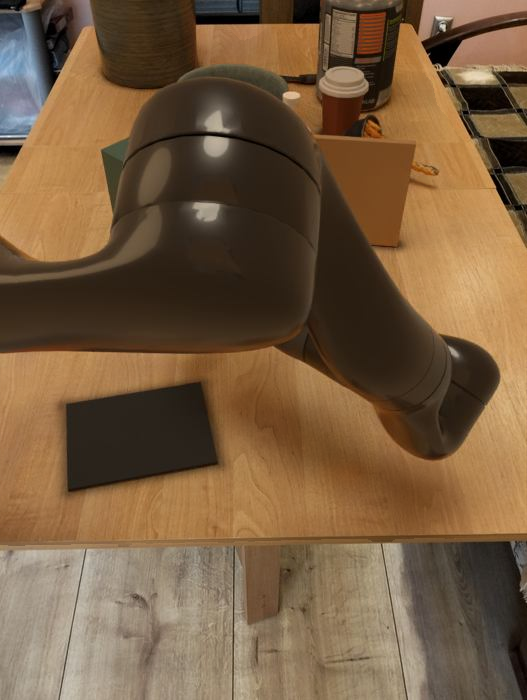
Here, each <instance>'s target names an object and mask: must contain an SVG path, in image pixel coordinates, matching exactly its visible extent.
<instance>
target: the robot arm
mask: <svg viewBox="0 0 527 700" xmlns="http://www.w3.org/2000/svg"><path fill="white" fill-rule="evenodd" d="M135 117H136V118H135V119H134V121H133V124H132V127H131V129H130V130H131V131H130V133H129V136H128V137H129V140H128V144H127V148H126V153H125V158H124V162H123V167H122V172H121V176H120V181H119V186H118V192H117V197H116V202H115V208H114V213H113V212H112V219H111V223H110V224H111V225H110V230H109V238H108V241H107V243H106V244H105V245H104V246H103V247H102V248H101V249H99V250H97V252H94V253H93V254H90V255H87V256H83V257H79V258H75V259H68V260H54V261H49V260H40V259H37V258H35V257H34V256H31V255H29V254H27V253H26V252H25V251H23V250H21V249H20V248H19V247H17V246H16V245H15V244H13V243H12V242H11V241H9V240H8V239H7V238H5V237H4V236H2V235H1V234H0V355H5V354H18V353H19V354H21V353H36V352H37V353H39V352H40V353H41V352H42V353H45V352H47V353H48V352H81V353H82V352H83V353H121V354H122V353H123V354H124V353H125V354H161V355H162V354H165V355H168V354H169V355H218V354H235V353H246V352H254V351H258V350H259V351H260V350H263V349H267V348H268V349H269V348H271V347H273V348H274V349H276V350H278V351H279V352H281V353H283V354H285V355H286V356H288V357H290V358H292V359H294V360H297V361H299V362H302V363H304V364H306V365H307V366H309V367H310V368H313V369H314V370H316V371H317V372H318V373H320V374H322V375H323V376H325V377H326V378H329V379H330V380H332V381H333V382H335V383H337V384H338V385H340V386H342V387H343V388H345V389H347V390H349V391H351V392H353V393H354V394H356V395H357V396H359V397H360V398H362V399H363V400H365V401H367V402H368V403H370V404H371V405H372V407H373V409H374V412H375V414H376V417H377V418H378V420H379V423H380V424H381V425H382V428H383V430H385V432H386V433H387V434H388V436H389V437H390V438H391V439H392V441H394V443H395V444H396V445H398V446H399V447H400V448H401V449H402V450H403V451H406V452H407V453H408V454H410V455H411V456H413V457H416V458H418V459H421V460H424V461H428V462H429V461H430V462H435V461H443V460H446V459H448V458H450V457H452V456H453V455H455V454H456V453H457V452H458V451H459V449H461V447H462V445H464V442H465V441H466V439H467V437H468V436H469V434H470V433H471V431H472V430H473V428H474V426H475V425H476V423H477V422H478V420H479V418H480V417H481V415H482V414H483V413H484V410H485V409H486V407H487V406H488V405H489V403H490V401H491V399H492V398H493V397H494V395H495V393H496V392H497V390H498V388H499V385H500V383H501V378H502V376H501V371H500V367H499V364H498V363H497V361H496V360H495V358H494V357H493V356H492V354H490V352H489V351H487V350H486V349H485V348H484V347H483V346H481V345H479V344H477V343H476V342H473V341H472V340H468V339H465V338H462V337H458V336H455V335H449V334H446V333H440V332H437V331H436V330H435V329H434V327H433V326H432V325H431V324H430V323H429V322H428V321H427V320H426V319H425V318H424V316H422V315H421V314H420V313H419V312H418V311H417V310H416V309H415V308H414V307H413V305H412V304H411V303H410V301H408V299H407V297H405V295H404V294H403V292H401V290H400V289H399V288H398V286H397V284H396V283H395V281H394V280H393V278H392V277H391V275H390V274H389V272H388V271H387V269H386V267H385V266H384V263H382V261H381V259H380V257H379V256H378V254H377V252H376V250H375V249H374V247H373V245H371V244H370V242H369V240H368V238H367V237H366V235H365V233H364V231H363V229H362V228H361V226H360V224H359V222H358V220H357V219H356V217H355V215H354V213H353V211H352V210H351V208H350V206H349V204H348V203H347V201H346V199H345V197H344V195H343V193H342V191H341V189H340V187H339V185H338V183H337V181H336V179H335V176H334V174H333V172H332V170H331V168H330V166H329V164H328V162H327V160H326V158H325V156H324V154H323V152H322V150H321V149H320V147H319V145H318V143H317V141H316V140H315V138H314V136H313V135H312V134H313V133H312V131H311V132H310V130H311V129H310V128H309V126H308V125H307V124H306V123H305V122H304V121H303V120H302V118H301V117H300V116H299V114H298V113H296V112H295V111H294V110H293V108H292V109H291V108H290V107H289V106H288V105H287V104H285V103H284V102H282V101H281V100H280V99H278V98H277V97H275V96H274V95H272V94H271V93H269V92H267V91H265V90H263V89H261V88H259V87H256V86H254V85H252V84H250V83H246V82H242V81H238V80H234V79H230V78H222V77H208V76H207V77H198V78H189V79H186V80H183V81H180V82H176V83H173V84H170V85H168V86H166V87H161V88H160V89H158V90H157V91H156V92H154V93H153V94H152V96H151V97H150V98H148V99H147V101H145V103H143V105H142V106H141V108H140V110H139V111H138V113H137V115H136V116H135ZM307 126H308V127H307ZM308 128H309V129H310V130H309V129H308Z"/></svg>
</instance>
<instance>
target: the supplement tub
mask: <svg viewBox="0 0 527 700" xmlns="http://www.w3.org/2000/svg"><path fill="white" fill-rule="evenodd" d="M403 7H404V0H320V4H319V22H318V23H319V25H318V40H317V41H318V42H317V43H318V44H317V64H316V74H317V83H315V84H316V85H315V86H316V87H315V89H316V90H315V91H316V95H317V97H318V99H319V101H321V102H322V91H321V90H320V89H319V81H320V79H321V78H323V77H324V76H325V73H326V71H328V70H329V69H331V68H334V67H340V66H345V67H353V68H356V69H359V70H361V71H362V72H363V74H364V78H365V79H366V81H367V82H368V83H369V88H368V91H367V92H366V93H365V94H364V97H363V102H362V107H361V112H367V111H372V110H374V109H377V108H379V107H381V106H382V105H384V104H385V103H386V102H387V101H388V100H389V98H390V96H391V94H392V93H391V92H392V88H393V87H392V86H393V79H394V73H395V64H396V59H397V58H396V57H397V52H398V51H397V50H398V44H399V36H400V28H401V21H402V14H403Z"/></svg>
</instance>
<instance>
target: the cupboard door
mask: <svg viewBox="0 0 527 700" xmlns="http://www.w3.org/2000/svg"><path fill="white" fill-rule="evenodd" d="M312 135H313V136H314V138H315V140H316V141H317V143H318V145H319V147H320V149H321V150H322V152H323V154H324V156H325V158H326V160H327V162H328V164H329V166H330V168H331V170H332V172H333V174H334V176H335V179H336V181H337V183H338V185H339V187H340V189H341V191H342V193H343V195H344V197H345V199H346V201H347V203H348V204H349V206H350V208H351V210H352V211H353V213H354V215H355V217H356V219H357V220H358V222H359V224H360V226H361V228H362V229H363V231H364V233H365V235H366V237H367V238H368V240H369V242H370V244H371V245H372V246H383V247H395V248H397V247H398V244H399V240H400V239H399V238H400V233H401V228H402V222H403V217H404V212H405V207H406V201H407V196H408V191H409V185H410V180H411V174H412V170H413V169H412V164H413V161H414V158H415V153H416V148H417V141H416V140H407V139H393V138H387V139H378V138H362V137H346V136H331V135H322V134H316V133H315V134H313V133H312Z"/></svg>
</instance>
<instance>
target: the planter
mask: <svg viewBox="0 0 527 700" xmlns="http://www.w3.org/2000/svg"><path fill="white" fill-rule="evenodd" d="M88 1H89V6H90V12H91V16H92V17H91V18H92V23H93V27H94V32H95V33H94V34H95V38H96V42H97V43H96V44H97V47H98V53H99V57H100V62H101V67H102V72H103V75H104V77H105V78H106V79H107V80H108V81H110V82H111V83H114V84H116V85H119V86H122V87H126V88H127V87H128V88H133V89H156V88H157V89H159V88H164V87H166V86H168V85H170V84H173V83H176V82H177V81H178V80H179V79H180V78H181V77H182V76H183V75H185V74H186V73H188V72H190V71H192V70H194V69H198V63H199V62H198V42H197V41H198V40H197V13H196V0H88Z"/></svg>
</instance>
